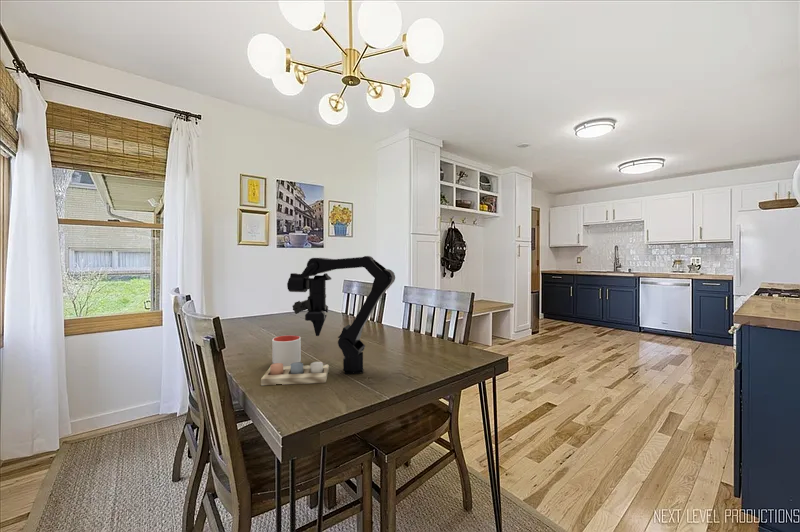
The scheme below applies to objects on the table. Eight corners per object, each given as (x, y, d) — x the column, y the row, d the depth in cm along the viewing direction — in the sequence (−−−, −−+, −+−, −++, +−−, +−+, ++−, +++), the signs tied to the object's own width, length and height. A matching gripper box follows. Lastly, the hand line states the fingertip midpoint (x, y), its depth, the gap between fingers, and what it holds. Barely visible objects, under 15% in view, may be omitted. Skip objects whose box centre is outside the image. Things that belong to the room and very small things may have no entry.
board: (328, 370, 122) (328, 364, 122) (325, 382, 110) (325, 376, 110) (270, 372, 120) (270, 366, 120) (261, 385, 108) (260, 379, 108)
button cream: (323, 372, 118) (323, 361, 118) (322, 377, 114) (322, 365, 114) (311, 373, 118) (311, 361, 117) (309, 377, 114) (309, 365, 113)
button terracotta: (284, 374, 116) (284, 362, 116) (281, 378, 112) (281, 366, 112) (272, 374, 116) (272, 363, 116) (269, 379, 112) (269, 367, 112)
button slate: (303, 373, 117) (303, 362, 117) (302, 377, 113) (302, 365, 113) (291, 374, 117) (291, 362, 117) (289, 378, 113) (289, 366, 113)
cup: (292, 370, 122) (292, 342, 122) (267, 368, 124) (266, 340, 124) (305, 361, 132) (305, 335, 132) (281, 359, 134) (281, 334, 134)
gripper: (298, 290, 131) (298, 330, 131) (289, 296, 112) (289, 343, 113) (328, 289, 132) (328, 329, 133) (323, 295, 114) (324, 342, 114)
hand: (317, 335), depth 123 cm, fingers closed
